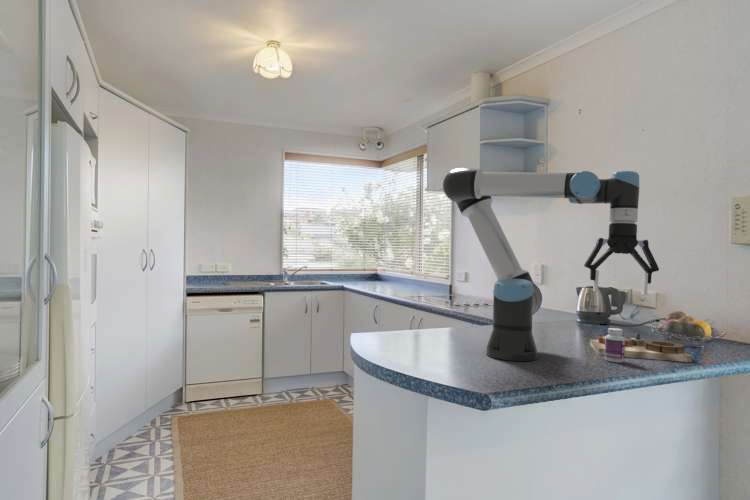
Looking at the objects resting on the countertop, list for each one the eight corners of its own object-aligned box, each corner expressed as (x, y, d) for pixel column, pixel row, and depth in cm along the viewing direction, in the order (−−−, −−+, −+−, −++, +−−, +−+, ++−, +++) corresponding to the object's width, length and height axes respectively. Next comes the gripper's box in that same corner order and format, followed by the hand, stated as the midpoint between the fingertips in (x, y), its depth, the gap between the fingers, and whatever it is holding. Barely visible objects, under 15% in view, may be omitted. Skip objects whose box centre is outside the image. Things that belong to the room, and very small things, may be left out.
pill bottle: (626, 363, 139) (627, 330, 139) (607, 362, 140) (608, 329, 140) (621, 359, 144) (622, 328, 144) (602, 358, 145) (603, 327, 145)
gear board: (599, 354, 150) (599, 334, 150) (590, 344, 167) (590, 326, 167) (692, 362, 143) (692, 341, 143) (673, 351, 160) (673, 332, 160)
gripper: (581, 220, 142) (578, 291, 142) (673, 223, 136) (669, 296, 136) (576, 222, 149) (573, 289, 149) (663, 225, 144) (660, 294, 144)
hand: (619, 293), depth 143 cm, fingers open, 13 cm apart
